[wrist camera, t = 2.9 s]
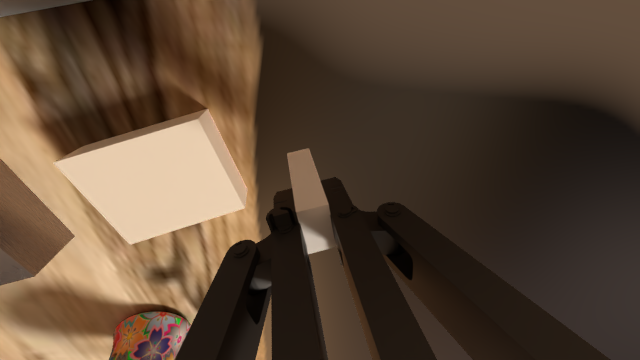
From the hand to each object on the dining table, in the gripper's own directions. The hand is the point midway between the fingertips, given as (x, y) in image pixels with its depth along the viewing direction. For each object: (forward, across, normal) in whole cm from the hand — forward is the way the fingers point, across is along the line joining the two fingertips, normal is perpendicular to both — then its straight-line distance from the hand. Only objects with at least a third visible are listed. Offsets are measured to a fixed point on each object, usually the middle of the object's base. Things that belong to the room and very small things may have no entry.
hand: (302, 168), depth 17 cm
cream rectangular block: (+6, -11, 0) cm, 12 cm away
